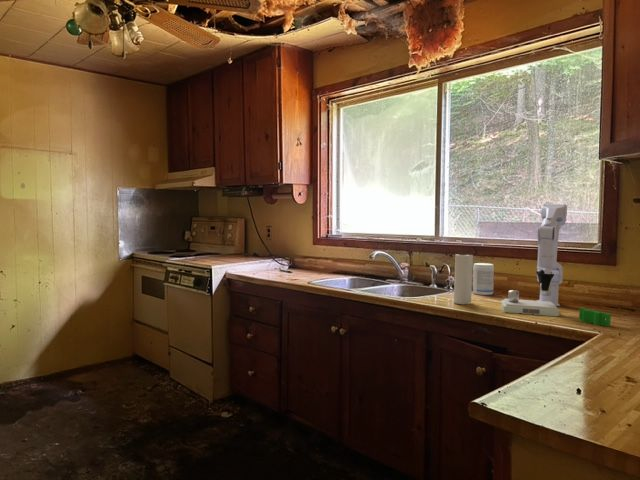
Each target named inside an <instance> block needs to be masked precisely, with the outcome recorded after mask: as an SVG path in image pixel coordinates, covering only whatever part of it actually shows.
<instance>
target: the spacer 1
mask: <svg viewBox="0 0 640 480" xmlns="http://www.w3.org/2000/svg"><path fill="white" fill-rule="evenodd" d="M507 293H508V294H507V299H508V302H512V303H518V301H519V300H520V291H519V290H514V289H510V290H508V292H507Z"/></svg>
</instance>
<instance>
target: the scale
mask: <svg viewBox="0 0 640 480" xmlns="http://www.w3.org/2000/svg"><path fill="white" fill-rule="evenodd" d="M500 304H501V310H502V311H503V313H506V312H508V313H509V314H519V313H522V314H521V315H532V314H534V316H545V317H547V316H548V317H557V316H559V317H560V309H559V308H558V306H555V305H554V304H553V303H552V302H547V301H537V300H532V299H519V301H518V303H512V302H508V298H504V299H501V303H500ZM508 313H507V314H508Z"/></svg>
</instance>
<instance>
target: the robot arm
mask: <svg viewBox="0 0 640 480" xmlns="http://www.w3.org/2000/svg"><path fill="white" fill-rule="evenodd" d="M567 212H568V205H567V204H565V203H564V204H562V203H561V204H560V203H559V204H557V203H556V204H551V203H549V204H547V203H543V204H542V205H541V211H540V216H541V225H540V227H538V228H537V232H536V237H537V245H538V247H537V263H536V265H537V266H536V269H537V270H536V271H535V273H536V280H537V282H538V283H539V286H540V283H541V288H542V291H548V289H549V285H550V284H551V295H550V296H545V295H540V294H539V299H537V300H536V301H547V302H552V303H553V304H554V305H555V306H556V307H561V305H560V303H559V285H561V284H562V283H563V278H564V267H563V266H562V265H561V264H560V263H559V262H558V261H557V259H558V250H559V249H558V246H559V236H560V230H561V227H562V226H564V225H566V222H567Z"/></svg>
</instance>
